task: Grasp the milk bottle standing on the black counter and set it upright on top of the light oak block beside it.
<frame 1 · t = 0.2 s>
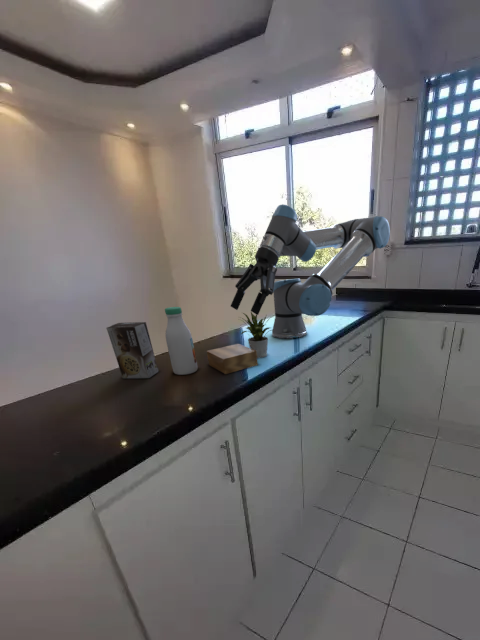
hand: (243, 310, 105), 16 cm above the table, tool tilted 35°, fingers open, 13 cm apart
oak block: (233, 365, 104), on the table
milk bottle: (186, 371, 101), on the table
house plant: (256, 356, 113), on the table
food box: (141, 375, 99), on the table
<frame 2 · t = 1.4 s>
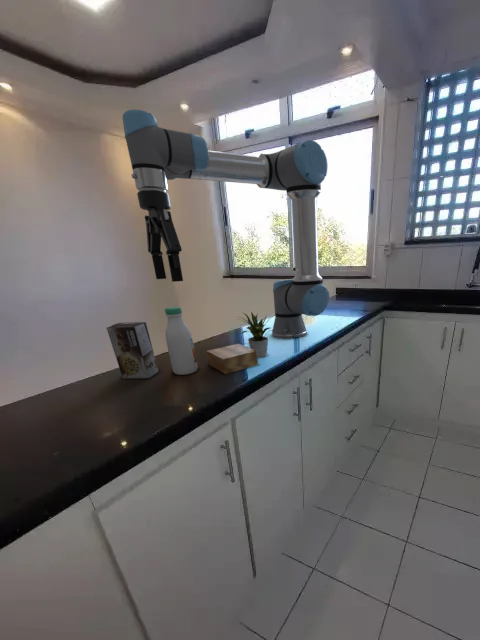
hand: (169, 280, 89), 28 cm above the table, tool pointing down, fingers open, 13 cm apart
nothing on the table moved.
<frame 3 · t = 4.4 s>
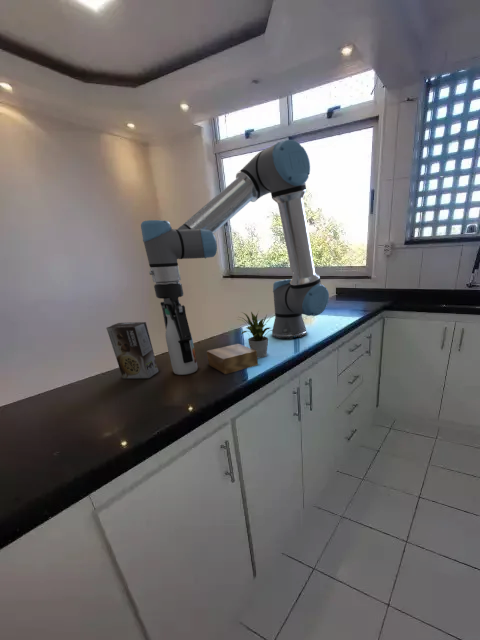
hand: (183, 358, 99), 4 cm above the table, tool pointing down, fingers closed on milk bottle, 8 cm apart
milk bottle: (186, 371, 101), on the table, touching gripper
everything else where it was.
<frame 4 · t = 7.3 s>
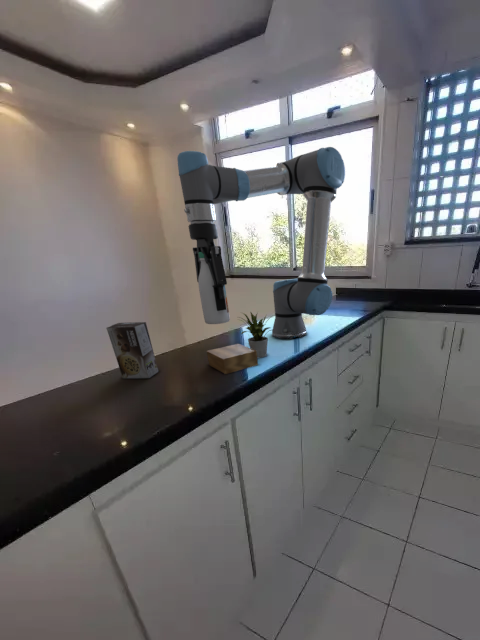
hand: (215, 308, 95), 19 cm above the table, tool pointing down, fingers closed on milk bottle, 8 cm apart
milk bottle: (217, 322, 97), point 14 cm above the table, touching gripper
everything else where it was.
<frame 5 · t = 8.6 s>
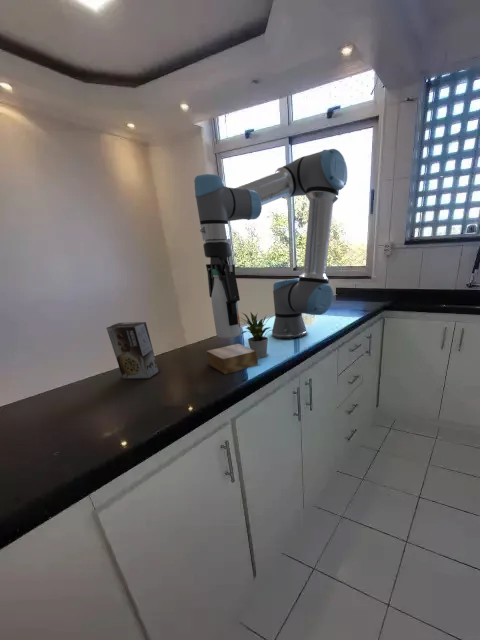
hand: (227, 322, 98), 14 cm above the table, tool pointing down, fingers closed on milk bottle, 8 cm apart
milk bottle: (229, 336, 100), point 10 cm above the table, touching gripper
everything else where it was.
when the fingers open (9 cm above the table, at t = 10.3 s): milk bottle stays where it is, resting on oak block.
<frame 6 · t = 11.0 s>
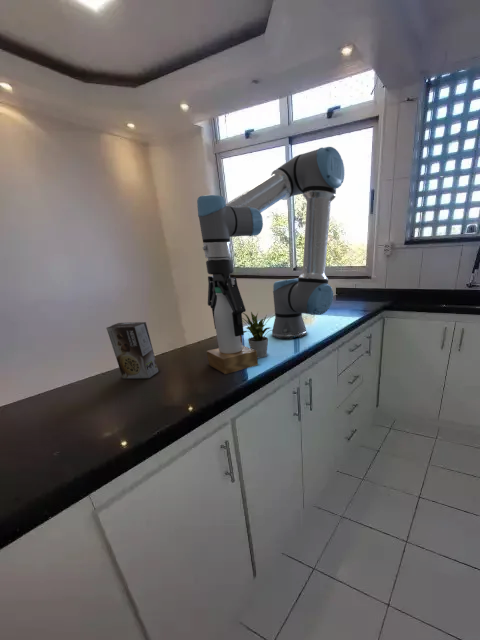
hand: (228, 331, 99), 11 cm above the table, tool pointing down, fingers open, 13 cm apart
milk bottle: (231, 351, 102), point 5 cm above the table, touching oak block
everything else where it was.
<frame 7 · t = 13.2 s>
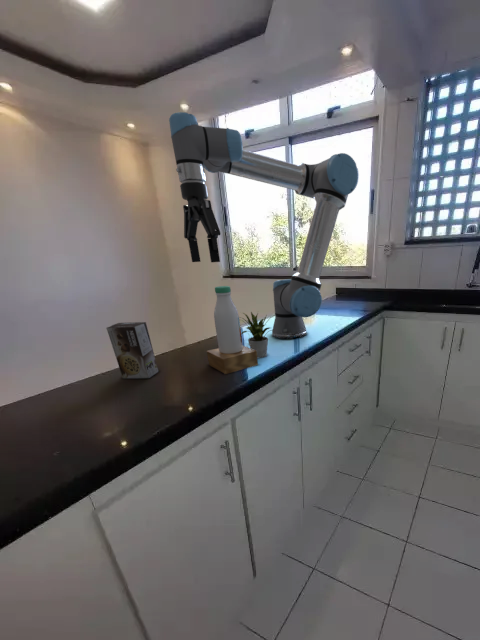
hand: (205, 262, 101), 32 cm above the table, tool pointing down, fingers open, 13 cm apart
nothing on the table moved.
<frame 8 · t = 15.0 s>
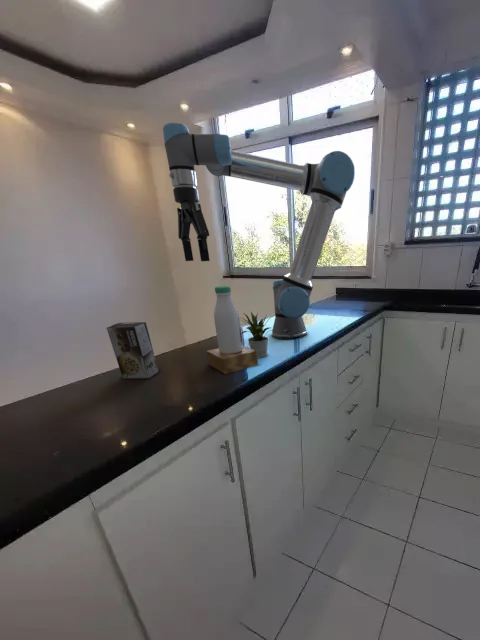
hand: (197, 261, 108), 32 cm above the table, tool pointing down, fingers open, 13 cm apart
nothing on the table moved.
at the end: milk bottle inside the target area on the oak block (0.0 cm from its centre), point 4.8 cm above the oak block's base; milk bottle tilted 0°; the gripper is holding nothing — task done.
